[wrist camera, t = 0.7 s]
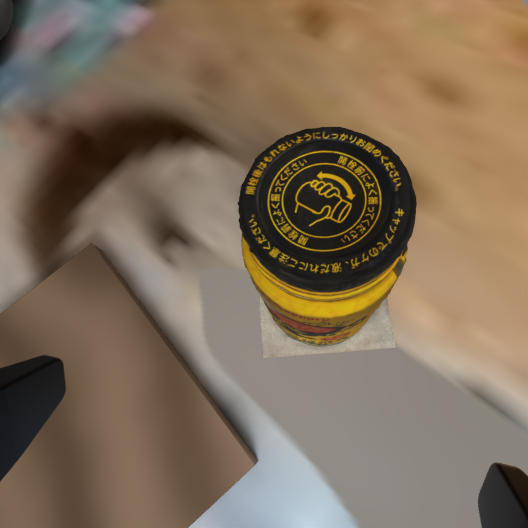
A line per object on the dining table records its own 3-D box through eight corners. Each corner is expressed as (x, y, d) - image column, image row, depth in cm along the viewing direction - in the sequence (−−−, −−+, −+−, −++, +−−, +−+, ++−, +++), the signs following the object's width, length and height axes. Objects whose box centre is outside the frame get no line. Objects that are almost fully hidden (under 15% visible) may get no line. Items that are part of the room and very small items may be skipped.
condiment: (263, 358, 21) (209, 322, 10) (254, 222, 24) (204, 73, 13) (395, 348, 21) (497, 297, 9) (370, 209, 23) (426, 40, 12)
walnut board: (-2, 703, 18) (-23, 724, 16) (-115, 419, 23) (-137, 421, 21) (258, 460, 20) (255, 464, 18) (101, 249, 25) (91, 242, 23)
